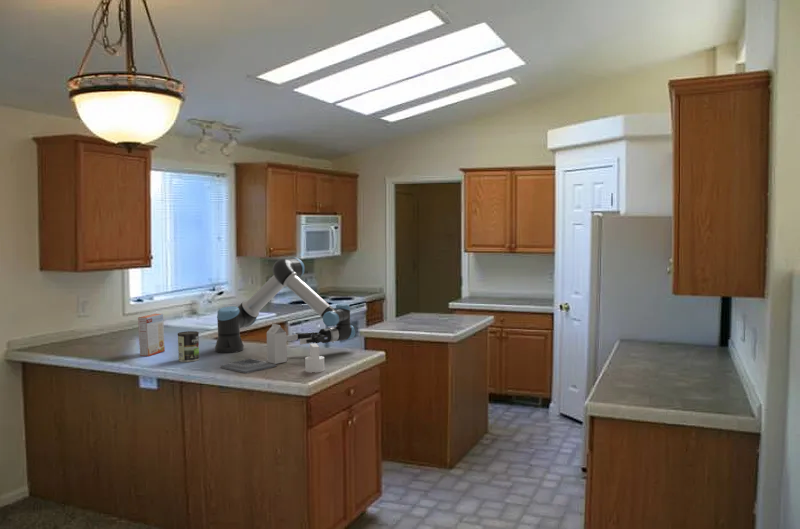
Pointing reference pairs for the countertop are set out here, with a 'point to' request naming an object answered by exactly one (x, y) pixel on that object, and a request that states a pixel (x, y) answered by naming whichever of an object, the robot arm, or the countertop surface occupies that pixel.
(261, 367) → the board
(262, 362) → the dock collar
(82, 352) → the countertop surface
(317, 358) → the base with upright slab
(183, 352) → the coffee can
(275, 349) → the milk carton
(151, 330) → the cracker box
